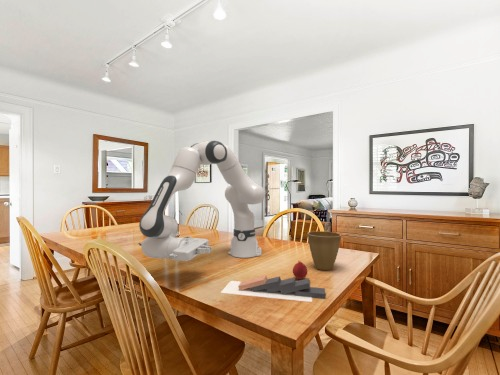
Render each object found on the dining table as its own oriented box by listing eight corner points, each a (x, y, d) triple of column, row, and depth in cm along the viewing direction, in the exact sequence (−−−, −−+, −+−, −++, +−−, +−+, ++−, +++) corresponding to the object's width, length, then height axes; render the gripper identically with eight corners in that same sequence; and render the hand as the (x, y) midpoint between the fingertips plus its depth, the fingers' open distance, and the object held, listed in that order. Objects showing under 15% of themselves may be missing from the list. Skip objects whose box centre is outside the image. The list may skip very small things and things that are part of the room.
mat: (230, 281, 107) (230, 280, 107) (312, 288, 99) (312, 287, 99) (220, 293, 95) (220, 292, 95) (312, 302, 87) (312, 301, 87)
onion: (305, 277, 111) (305, 258, 111) (308, 282, 105) (308, 262, 105) (291, 277, 111) (291, 258, 111) (294, 282, 105) (294, 262, 105)
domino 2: (268, 283, 99) (294, 277, 97) (270, 287, 99) (295, 281, 97) (266, 288, 95) (293, 282, 92) (267, 293, 94) (294, 286, 92)
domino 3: (282, 284, 98) (308, 278, 96) (283, 288, 98) (310, 282, 96) (280, 290, 93) (308, 283, 91) (282, 294, 93) (309, 287, 91)
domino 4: (296, 285, 97) (324, 288, 95) (296, 290, 97) (324, 292, 95) (295, 291, 92) (325, 294, 90) (295, 295, 92) (325, 298, 90)
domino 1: (254, 282, 101) (279, 276, 98) (256, 286, 101) (281, 280, 98) (251, 287, 96) (277, 281, 94) (253, 291, 96) (279, 285, 93)
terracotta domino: (241, 281, 102) (266, 275, 100) (243, 285, 102) (267, 279, 100) (238, 286, 97) (263, 279, 95) (239, 290, 97) (265, 284, 95)
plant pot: (343, 274, 114) (343, 237, 114) (307, 272, 117) (307, 236, 117) (338, 264, 129) (338, 231, 129) (307, 262, 132) (307, 230, 132)
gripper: (165, 247, 99) (199, 249, 96) (190, 235, 119) (219, 236, 116) (165, 264, 99) (200, 266, 96) (190, 249, 119) (219, 250, 116)
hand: (210, 249), depth 106 cm, fingers closed
